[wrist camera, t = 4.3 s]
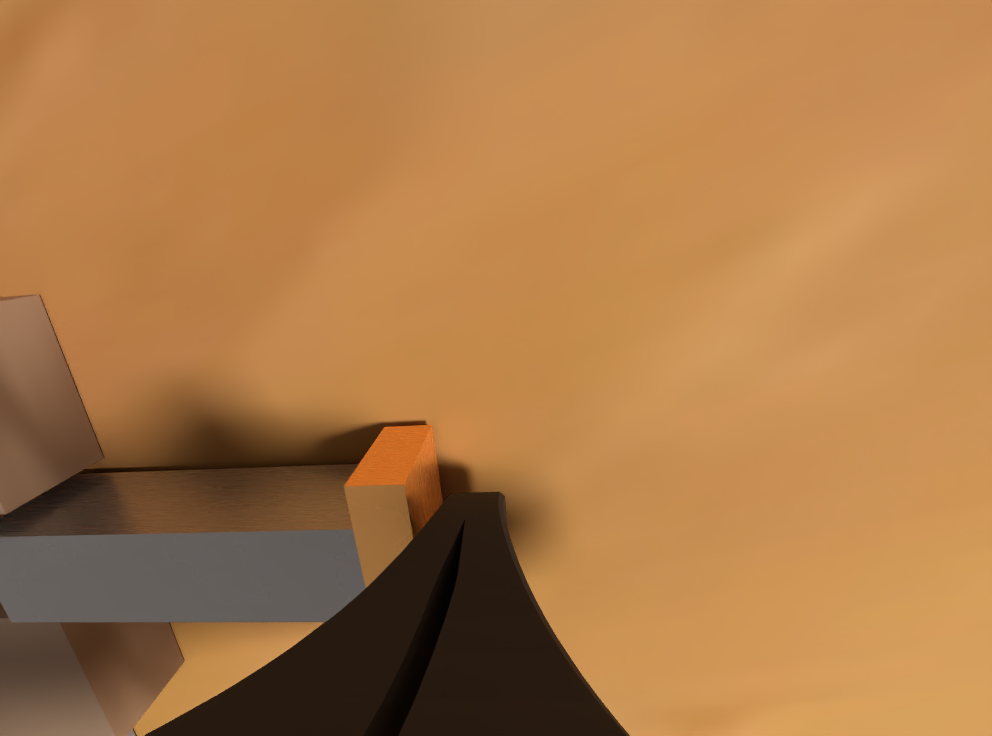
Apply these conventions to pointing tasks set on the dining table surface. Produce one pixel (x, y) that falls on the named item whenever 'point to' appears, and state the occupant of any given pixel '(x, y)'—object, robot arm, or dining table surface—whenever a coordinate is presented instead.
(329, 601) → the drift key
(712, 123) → the dining table surface
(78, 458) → the socket block
